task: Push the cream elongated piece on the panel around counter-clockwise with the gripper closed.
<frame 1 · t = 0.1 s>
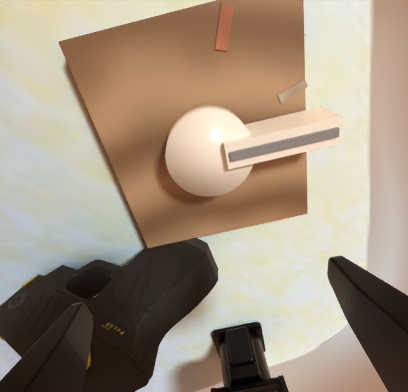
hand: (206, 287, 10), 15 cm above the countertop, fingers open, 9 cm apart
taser: (112, 261, 28), on the countertop, touching panel
panel: (205, 136, 22), on the countertop
cream elongated piece: (248, 143, 18), point 4 cm above the countertop, hinge at 0.0°
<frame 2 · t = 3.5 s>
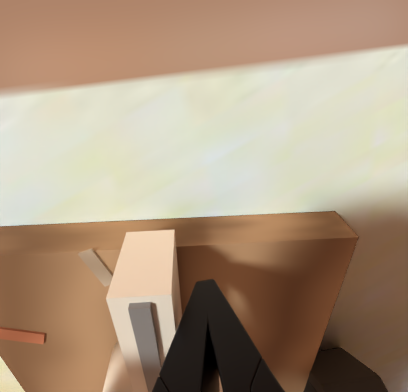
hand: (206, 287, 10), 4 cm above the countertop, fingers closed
panel: (170, 320, 16), on the countertop
cream elongated piece: (161, 359, 11), point 4 cm above the countertop, hinge at 0.3°, touching gripper
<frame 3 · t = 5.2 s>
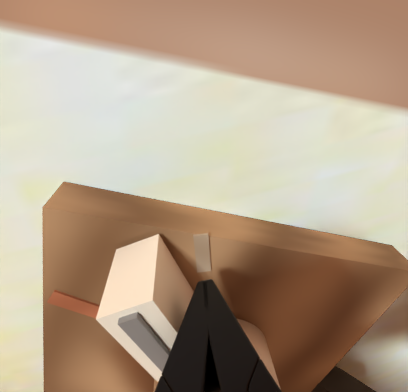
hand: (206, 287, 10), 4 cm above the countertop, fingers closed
panel: (207, 316, 16), on the countertop
cream elongated piece: (195, 357, 12), point 4 cm above the countertop, hinge at 36.8°, touching gripper
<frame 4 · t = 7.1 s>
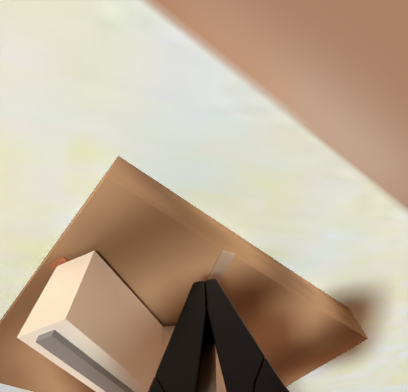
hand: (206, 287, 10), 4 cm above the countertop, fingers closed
panel: (174, 323, 17), on the countertop
cream elongated piece: (144, 366, 12), point 4 cm above the countertop, hinge at 64.2°
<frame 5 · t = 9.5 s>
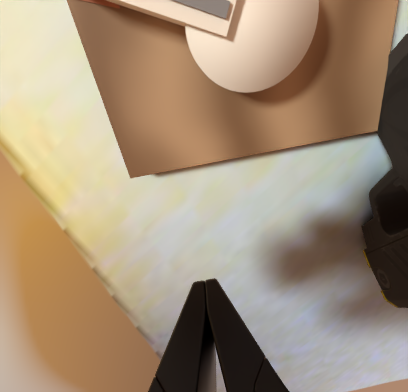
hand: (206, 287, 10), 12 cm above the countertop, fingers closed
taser: (381, 175, 22), on the countertop, touching panel
panel: (234, 27, 16), on the countertop
cream elongated piece: (192, 3, 12), point 4 cm above the countertop, hinge at 64.2°
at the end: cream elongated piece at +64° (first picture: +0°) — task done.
